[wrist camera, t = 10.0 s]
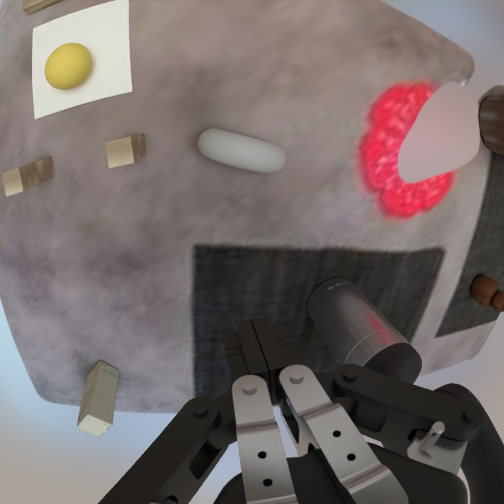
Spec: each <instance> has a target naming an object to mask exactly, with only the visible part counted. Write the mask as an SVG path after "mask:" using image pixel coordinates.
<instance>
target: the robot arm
mask: <svg viewBox="0 0 504 504" xmlns="http://www.w3.org/2000/svg"><path fill="white" fill-rule="evenodd" d="M308 313H309V315H310V317H311V319H312V320H313V322H314V324H315V327H316V328H317V330H318V331H319V333H320V335H321V336H322V338H323V340H324V341H325V343H326V344H327V346H328V348H329V349H330V351H331V352H332V354H333V356H334V357H335V359H336V360H337V361H338V362H339V364H340V365H341V366H339V367H338V368H337V369H336V370H335V371H334V373H316V372H313V371H311V370H310V369H309V368H308V367H306V366H304V364H303V362H302V360H301V358H300V356H299V354H298V352H297V350H296V348H295V346H294V344H293V343H292V340H291V338H290V337H289V334H288V332H287V330H286V329H285V328H284V327H283V326H281V325H280V324H279V323H276V324H272V325H270V324H269V322H268V319H267V317H266V315H264V316H258V317H253V318H249V319H243V320H238V321H234V322H235V329H236V332H232V333H226V334H225V337H224V340H223V345H224V350H225V355H226V360H227V365H228V369H229V374H230V378H231V387H230V389H229V390H228V392H227V393H226V394H224V395H223V396H221V397H219V398H217V399H215V400H212V399H210V398H207V397H197V398H193V399H191V400H190V401H188V402H187V403H186V404H185V405H184V406H183V408H182V409H181V410H180V411H179V412H178V414H177V415H176V416H175V417H174V418H173V420H172V421H171V422H170V423H169V424H168V426H167V427H166V428H165V429H164V430H163V431H162V433H161V434H160V435H159V436H158V438H157V439H156V440H155V441H154V442H153V443H152V444H151V445H150V447H149V448H148V449H147V450H146V451H145V452H144V454H142V456H141V457H140V458H139V459H138V460H137V461H136V462H135V464H134V465H133V466H132V467H131V468H130V469H129V470H128V471H127V472H126V474H125V475H124V476H123V477H122V478H121V479H120V480H119V481H118V483H117V484H116V485H115V486H114V487H113V488H112V489H111V490H110V491H109V492H108V493H107V494H106V495H105V496H104V498H103V499H102V500H101V501H100V502H99V503H98V504H188V503H189V502H190V501H191V499H192V498H193V496H194V495H195V494H196V492H197V491H198V490H199V488H200V487H201V486H202V484H203V482H204V481H205V480H206V478H207V477H208V476H209V474H210V473H211V471H212V470H213V469H214V467H215V466H216V464H217V463H218V461H219V460H220V458H221V457H222V456H223V454H224V453H225V451H226V450H227V448H228V445H229V444H231V443H234V442H236V441H238V448H239V455H240V463H241V470H242V472H241V473H240V474H238V475H236V476H235V477H233V478H232V479H231V480H230V481H229V482H228V483H227V484H226V485H225V486H224V487H223V489H222V490H221V492H220V494H219V495H218V497H217V498H216V500H215V502H214V503H213V504H468V501H467V499H468V494H467V489H466V486H465V484H464V482H463V481H462V480H461V479H460V478H459V477H458V476H457V474H458V471H459V468H460V467H461V469H462V471H463V473H464V475H465V477H466V480H467V482H468V486H469V490H470V504H504V444H503V442H502V441H501V439H500V437H499V435H498V433H497V431H496V429H495V427H494V425H493V423H492V422H491V420H490V418H489V416H488V415H487V413H486V411H485V410H484V408H483V407H482V405H481V404H480V402H479V401H478V399H477V398H476V397H475V396H474V395H473V394H472V393H471V392H470V391H469V390H468V389H467V388H465V387H463V386H461V385H459V384H454V383H451V384H446V385H444V386H442V387H439V388H437V389H435V390H433V391H432V390H429V389H425V388H422V387H419V386H416V385H413V383H414V382H415V380H416V379H417V377H418V375H419V373H420V371H421V367H422V360H421V357H420V355H419V354H418V353H417V351H416V350H415V349H414V348H413V347H412V346H411V345H410V344H409V343H408V342H407V340H406V339H405V338H404V337H403V336H402V335H401V334H400V333H399V332H398V331H397V330H396V328H395V327H394V326H393V325H392V324H391V323H390V322H389V321H388V320H387V319H386V318H385V316H384V315H383V314H382V313H381V312H380V311H379V310H378V309H377V308H376V307H375V306H374V305H373V304H372V303H371V301H370V300H369V299H368V298H367V297H366V296H365V295H364V294H363V293H362V292H361V291H360V290H359V289H358V288H357V287H356V286H355V285H354V284H353V283H352V282H351V281H350V280H349V279H346V278H341V277H338V278H332V279H329V280H327V281H325V282H323V283H322V284H321V285H319V286H318V287H317V288H316V289H315V290H314V292H313V293H312V295H311V297H310V299H309V302H308ZM271 402H272V404H276V403H278V404H279V406H280V409H281V418H282V420H283V422H284V424H285V426H286V428H287V430H288V433H289V435H290V437H291V439H292V441H293V443H294V445H295V447H296V449H297V453H298V457H293V458H286V455H285V452H284V447H283V443H282V439H281V435H280V431H279V427H278V424H277V422H276V421H275V418H274V413H273V409H272V405H271ZM361 434H362V435H365V436H367V437H370V438H372V439H375V440H378V441H381V443H382V445H383V447H384V448H383V447H381V446H378V445H376V444H373V443H369V442H366V441H365V440H364V438H363V437H362V435H361Z"/></svg>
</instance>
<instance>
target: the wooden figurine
mask: <svg viewBox="0 0 504 504" xmlns="http://www.w3.org/2000/svg"><path fill="white" fill-rule="evenodd" d="M499 290H500V289H499V285H498V283H497V282H496V281H495V280H493V279H492V278H490V277H487V276H478V277H477V278H476V279H475V280H474V282H473V285H472V294H473V296H474V298H475V299H476V300H477V302H478V303H480V304H481V305H482V306H484V307H491V306H492V308H493V309H494V310H495V311H496V312H502V311H503V312H504V292H502V291H499Z"/></svg>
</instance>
